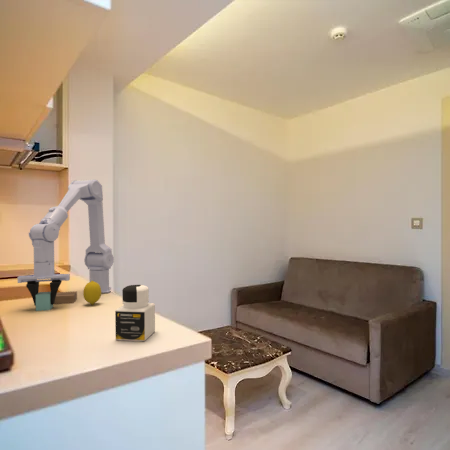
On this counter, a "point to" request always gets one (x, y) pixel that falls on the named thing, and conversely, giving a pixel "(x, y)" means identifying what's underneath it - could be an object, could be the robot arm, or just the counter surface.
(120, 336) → the medicine bottle
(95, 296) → the lemon
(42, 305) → the teal block
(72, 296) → the walnut block
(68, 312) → the counter surface
